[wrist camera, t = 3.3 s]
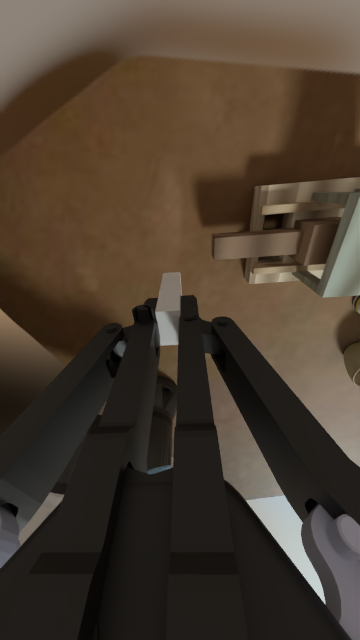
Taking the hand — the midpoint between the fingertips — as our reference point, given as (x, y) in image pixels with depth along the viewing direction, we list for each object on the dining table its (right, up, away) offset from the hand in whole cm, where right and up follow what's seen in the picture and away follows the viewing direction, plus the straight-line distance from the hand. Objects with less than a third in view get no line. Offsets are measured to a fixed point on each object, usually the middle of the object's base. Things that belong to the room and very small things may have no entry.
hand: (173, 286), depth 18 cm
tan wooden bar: (+14, +9, +12) cm, 21 cm away
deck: (+23, +11, +14) cm, 30 cm away
